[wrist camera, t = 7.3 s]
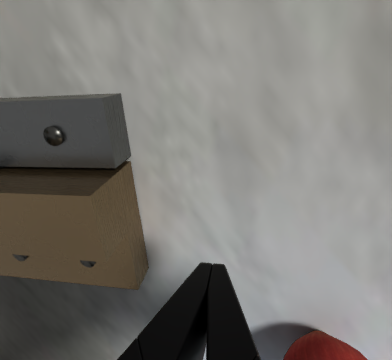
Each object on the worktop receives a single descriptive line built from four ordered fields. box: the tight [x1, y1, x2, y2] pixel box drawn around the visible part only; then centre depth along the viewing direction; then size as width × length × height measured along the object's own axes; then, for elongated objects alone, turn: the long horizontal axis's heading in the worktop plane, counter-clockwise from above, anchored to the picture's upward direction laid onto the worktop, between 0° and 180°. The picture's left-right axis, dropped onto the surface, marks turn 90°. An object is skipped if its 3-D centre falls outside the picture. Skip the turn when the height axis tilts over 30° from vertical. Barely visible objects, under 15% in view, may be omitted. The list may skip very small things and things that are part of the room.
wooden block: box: [0, 161, 149, 290], centre depth 16 cm, size 8×16×4 cm, turn 93°
